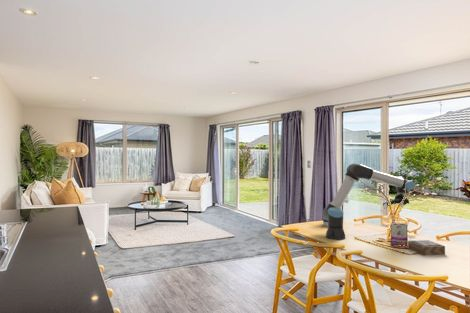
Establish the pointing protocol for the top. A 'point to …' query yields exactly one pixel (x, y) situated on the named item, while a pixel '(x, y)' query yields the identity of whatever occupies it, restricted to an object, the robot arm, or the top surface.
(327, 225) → the tea box
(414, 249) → the walnut base
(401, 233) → the candy bar box
